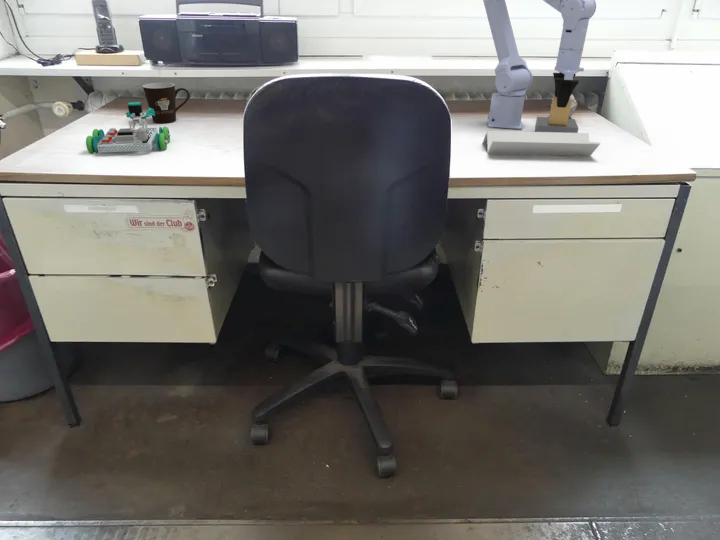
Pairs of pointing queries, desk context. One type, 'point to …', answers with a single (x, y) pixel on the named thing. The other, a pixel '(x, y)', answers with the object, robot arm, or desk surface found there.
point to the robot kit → (129, 134)
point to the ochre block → (559, 113)
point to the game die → (573, 105)
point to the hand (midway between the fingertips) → (560, 104)
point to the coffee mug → (163, 101)
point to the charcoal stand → (555, 126)
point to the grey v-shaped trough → (539, 143)
